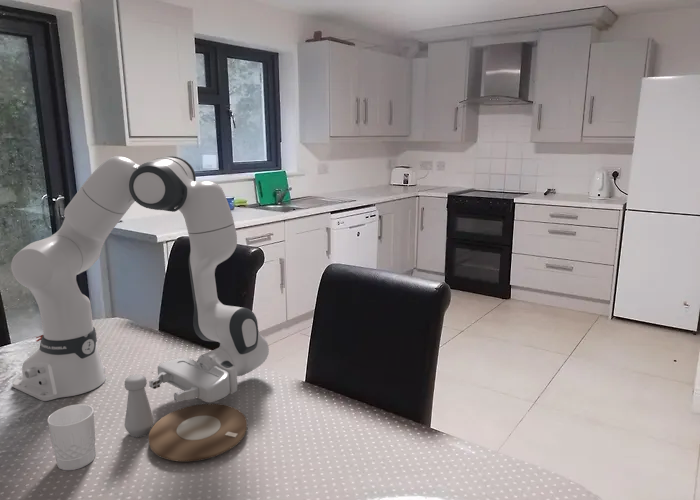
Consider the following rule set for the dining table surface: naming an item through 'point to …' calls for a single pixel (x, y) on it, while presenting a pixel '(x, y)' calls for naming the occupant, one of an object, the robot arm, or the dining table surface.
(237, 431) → the turntable
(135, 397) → the salt shaker
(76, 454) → the white cup
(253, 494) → the dining table surface
